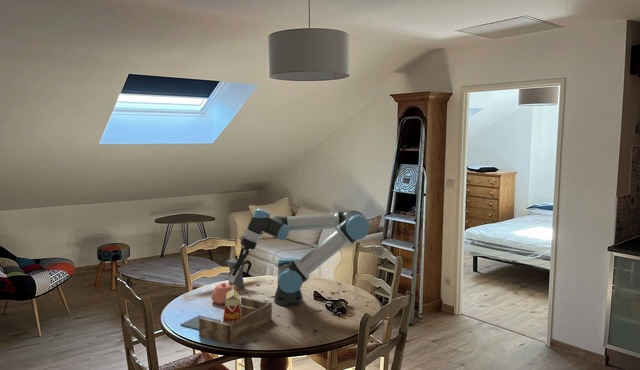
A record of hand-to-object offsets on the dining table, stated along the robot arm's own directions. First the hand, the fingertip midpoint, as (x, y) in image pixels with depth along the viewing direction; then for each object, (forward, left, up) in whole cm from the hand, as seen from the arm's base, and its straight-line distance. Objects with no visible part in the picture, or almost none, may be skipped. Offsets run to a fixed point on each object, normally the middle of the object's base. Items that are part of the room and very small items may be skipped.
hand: (232, 278), depth 256 cm
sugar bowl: (+5, -16, -17) cm, 24 cm away
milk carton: (-2, +23, -17) cm, 29 cm away
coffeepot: (0, -41, -17) cm, 44 cm away
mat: (+13, +14, -17) cm, 26 cm away
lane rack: (-4, +19, -17) cm, 26 cm away
